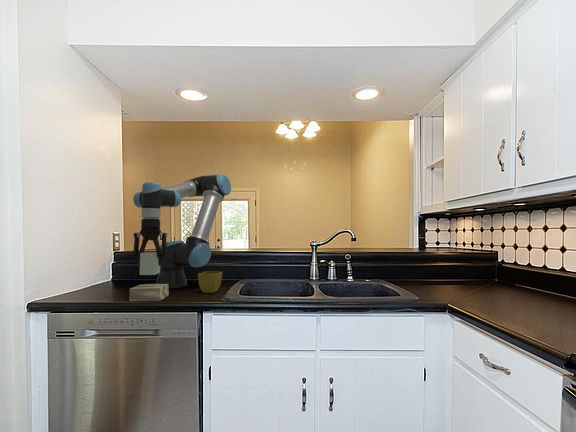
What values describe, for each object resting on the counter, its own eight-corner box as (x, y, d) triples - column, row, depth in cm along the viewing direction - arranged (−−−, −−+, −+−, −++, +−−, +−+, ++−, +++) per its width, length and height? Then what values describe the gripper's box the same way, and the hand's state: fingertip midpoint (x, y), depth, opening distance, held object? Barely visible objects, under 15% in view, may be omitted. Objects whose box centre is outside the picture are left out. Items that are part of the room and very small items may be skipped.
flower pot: (215, 294, 153) (215, 274, 153) (197, 293, 154) (197, 273, 155) (222, 290, 161) (222, 271, 162) (205, 290, 163) (205, 271, 163)
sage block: (145, 273, 147) (145, 252, 147) (159, 273, 147) (159, 252, 148) (139, 274, 141) (140, 253, 141) (154, 274, 141) (155, 253, 142)
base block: (140, 295, 150) (141, 284, 150) (168, 295, 150) (168, 283, 150) (129, 301, 138) (129, 288, 138) (159, 300, 138) (159, 288, 138)
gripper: (124, 218, 141) (123, 274, 140) (170, 218, 142) (169, 273, 141) (131, 219, 149) (130, 272, 148) (175, 219, 150) (175, 271, 148)
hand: (149, 272), depth 144 cm, fingers closed on sage block, 6 cm apart
